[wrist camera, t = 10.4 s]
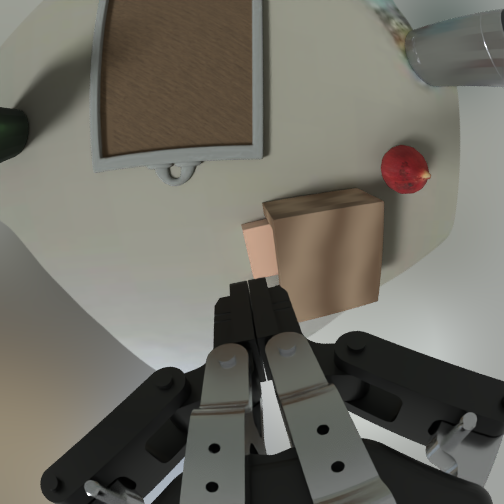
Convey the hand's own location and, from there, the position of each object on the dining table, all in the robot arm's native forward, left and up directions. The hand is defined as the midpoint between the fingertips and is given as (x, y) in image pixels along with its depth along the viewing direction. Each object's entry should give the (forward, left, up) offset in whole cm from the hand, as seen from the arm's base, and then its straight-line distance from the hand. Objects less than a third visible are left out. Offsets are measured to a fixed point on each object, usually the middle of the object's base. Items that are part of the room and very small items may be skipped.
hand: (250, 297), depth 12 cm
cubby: (-10, +8, -21) cm, 24 cm away
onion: (-21, -1, -21) cm, 29 cm away
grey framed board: (+3, -17, -21) cm, 27 cm away
